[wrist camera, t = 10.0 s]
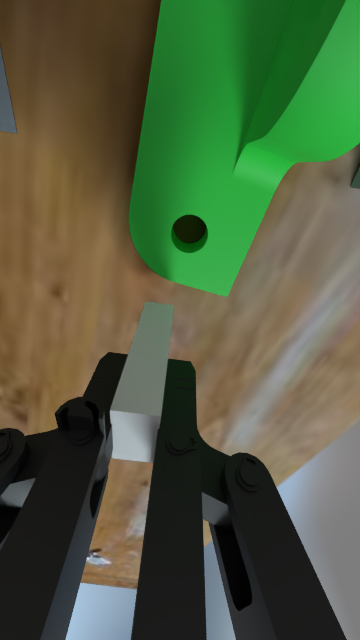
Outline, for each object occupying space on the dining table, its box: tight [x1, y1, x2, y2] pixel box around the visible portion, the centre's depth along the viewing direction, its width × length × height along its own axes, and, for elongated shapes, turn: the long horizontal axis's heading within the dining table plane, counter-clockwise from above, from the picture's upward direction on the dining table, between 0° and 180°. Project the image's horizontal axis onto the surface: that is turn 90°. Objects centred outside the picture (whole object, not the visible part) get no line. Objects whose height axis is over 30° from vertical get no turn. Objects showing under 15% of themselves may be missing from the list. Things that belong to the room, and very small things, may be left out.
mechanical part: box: [129, 0, 360, 297], centre depth 8 cm, size 12×6×8 cm, turn 164°
